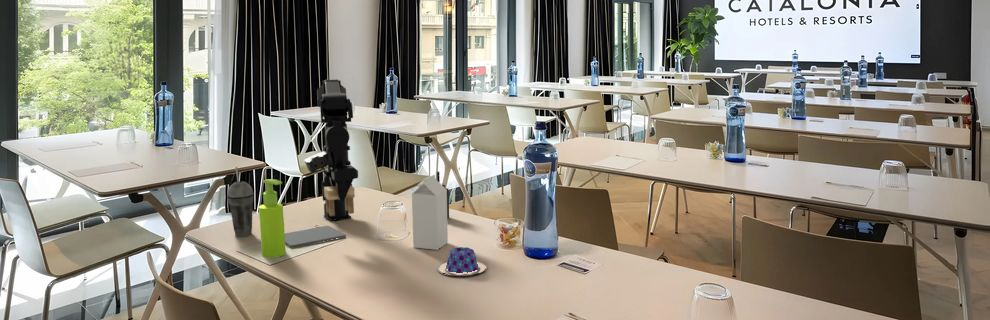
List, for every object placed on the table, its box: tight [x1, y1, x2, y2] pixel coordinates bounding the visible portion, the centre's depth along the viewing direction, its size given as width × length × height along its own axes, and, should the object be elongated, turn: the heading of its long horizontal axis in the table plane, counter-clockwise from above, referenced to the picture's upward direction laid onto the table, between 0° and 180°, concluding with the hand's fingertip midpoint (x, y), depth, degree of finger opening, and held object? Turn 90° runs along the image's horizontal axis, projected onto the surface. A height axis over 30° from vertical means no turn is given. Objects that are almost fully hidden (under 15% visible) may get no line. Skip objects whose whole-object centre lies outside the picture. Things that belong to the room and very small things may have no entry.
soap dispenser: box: [258, 178, 287, 259], centre depth 181 cm, size 6×7×20 cm
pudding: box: [437, 246, 488, 276], centre depth 170 cm, size 12×12×5 cm
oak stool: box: [324, 185, 356, 216], centre depth 188 cm, size 7×5×7 cm
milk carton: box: [411, 174, 449, 251], centre depth 187 cm, size 7×7×19 cm
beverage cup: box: [226, 166, 255, 238], centre depth 198 cm, size 7×7×20 cm
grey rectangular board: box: [284, 225, 347, 249], centre depth 197 cm, size 16×12×1 cm
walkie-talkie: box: [436, 171, 450, 219], centre depth 214 cm, size 5×3×15 cm
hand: (339, 199), depth 188 cm, fingers closed on oak stool, 5 cm apart
